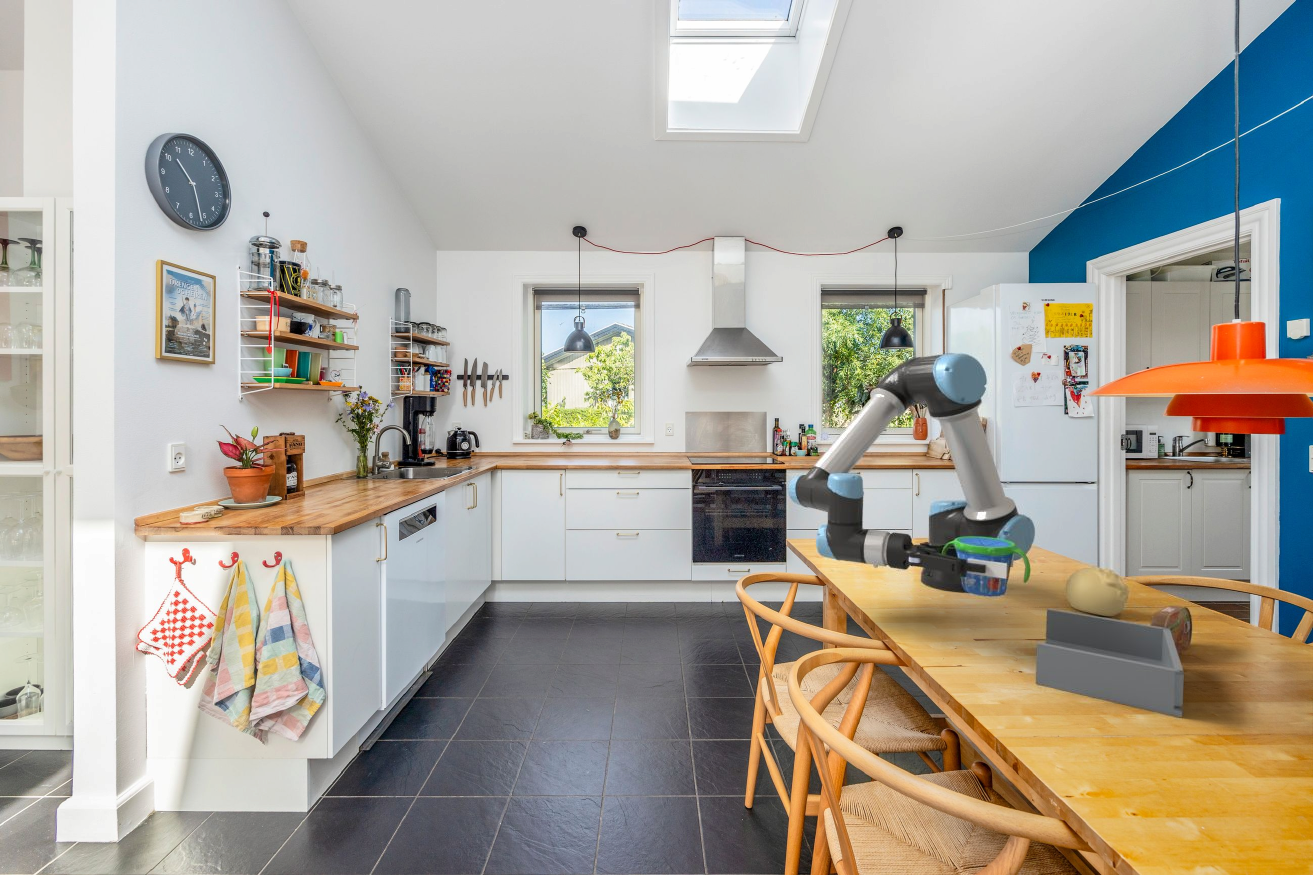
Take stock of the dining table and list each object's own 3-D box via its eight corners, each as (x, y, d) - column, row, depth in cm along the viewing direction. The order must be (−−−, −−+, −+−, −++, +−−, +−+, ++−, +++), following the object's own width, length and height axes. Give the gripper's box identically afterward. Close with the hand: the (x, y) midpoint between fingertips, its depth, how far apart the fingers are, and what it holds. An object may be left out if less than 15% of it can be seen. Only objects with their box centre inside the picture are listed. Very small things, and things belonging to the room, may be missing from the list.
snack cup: (931, 588, 121) (932, 538, 121) (955, 579, 128) (956, 531, 127) (1016, 607, 109) (1017, 552, 109) (1037, 596, 116) (1039, 544, 115)
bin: (1046, 642, 123) (1047, 608, 122) (1168, 665, 111) (1169, 628, 111) (1035, 683, 103) (1037, 643, 103) (1181, 717, 92) (1183, 672, 92)
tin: (1166, 662, 113) (1168, 618, 113) (1145, 656, 116) (1147, 613, 116) (1193, 645, 122) (1195, 604, 121) (1173, 640, 124) (1175, 600, 124)
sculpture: (1134, 623, 134) (1136, 576, 134) (1069, 615, 139) (1071, 569, 139) (1120, 609, 144) (1122, 564, 144) (1061, 601, 150) (1062, 558, 149)
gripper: (902, 556, 138) (1016, 572, 125) (873, 578, 120) (1001, 599, 107) (903, 524, 138) (1017, 536, 124) (874, 541, 120) (1002, 557, 107)
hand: (1010, 565), depth 116 cm, fingers closed on snack cup, 9 cm apart
